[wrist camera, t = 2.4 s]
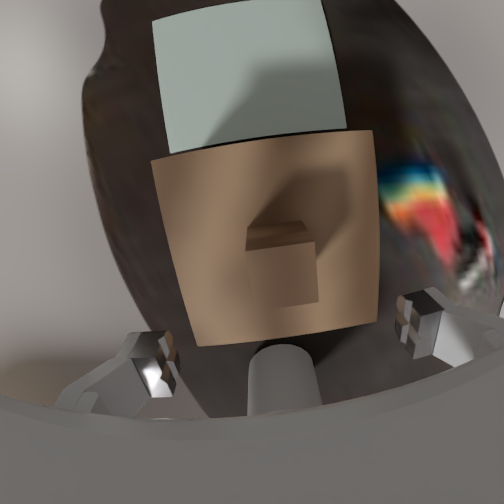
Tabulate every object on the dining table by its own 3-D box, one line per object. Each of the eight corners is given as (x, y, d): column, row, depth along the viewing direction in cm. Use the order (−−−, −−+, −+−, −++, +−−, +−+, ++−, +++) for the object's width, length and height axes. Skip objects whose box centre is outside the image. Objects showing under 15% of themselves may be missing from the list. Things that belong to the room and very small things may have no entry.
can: (250, 385, 35) (249, 465, 23) (246, 340, 32) (243, 425, 21) (309, 382, 34) (324, 459, 23) (313, 336, 32) (335, 419, 21)
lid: (366, 130, 16) (403, 127, 11) (372, 314, 20) (396, 355, 16) (156, 160, 17) (122, 166, 12) (199, 338, 21) (188, 385, 17)
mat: (318, -2, 19) (319, -4, 19) (345, 128, 24) (346, 128, 24) (153, 22, 20) (152, 21, 20) (171, 153, 25) (170, 153, 25)
